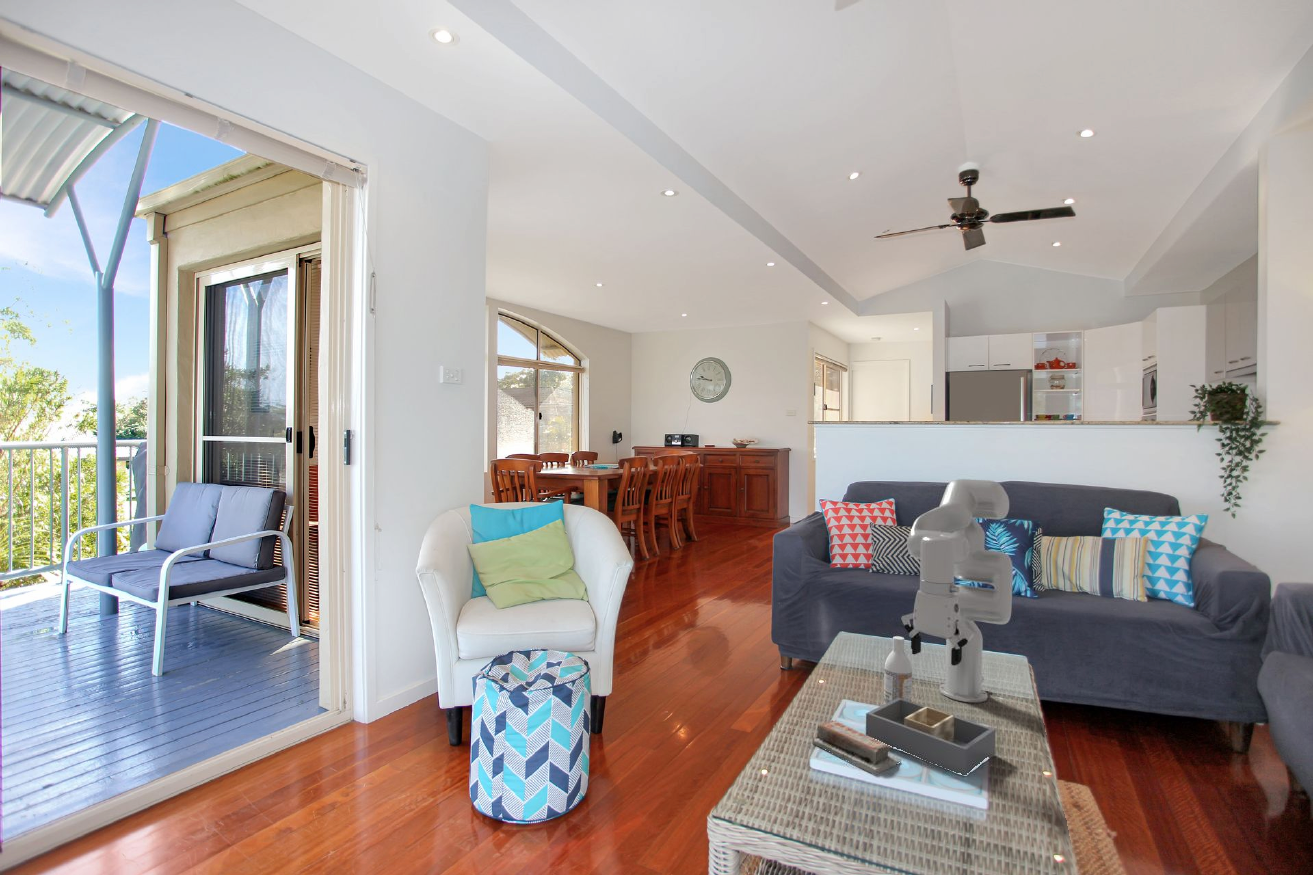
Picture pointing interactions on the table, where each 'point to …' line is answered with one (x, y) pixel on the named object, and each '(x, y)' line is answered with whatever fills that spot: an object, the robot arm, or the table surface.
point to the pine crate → (932, 723)
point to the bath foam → (897, 673)
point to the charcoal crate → (931, 737)
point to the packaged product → (855, 747)
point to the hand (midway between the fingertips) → (935, 658)
